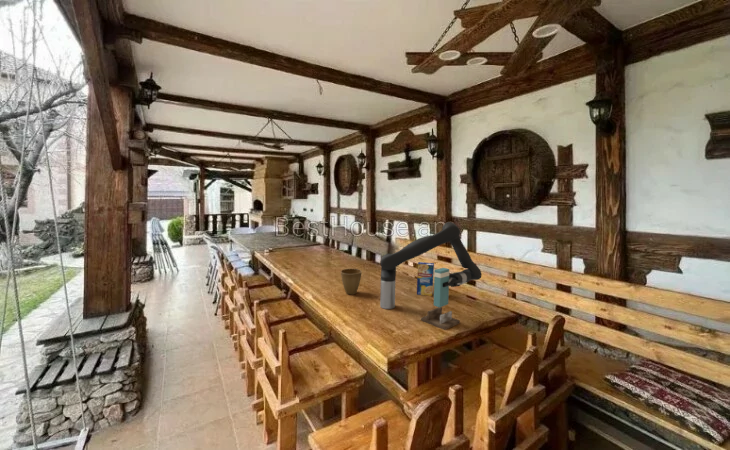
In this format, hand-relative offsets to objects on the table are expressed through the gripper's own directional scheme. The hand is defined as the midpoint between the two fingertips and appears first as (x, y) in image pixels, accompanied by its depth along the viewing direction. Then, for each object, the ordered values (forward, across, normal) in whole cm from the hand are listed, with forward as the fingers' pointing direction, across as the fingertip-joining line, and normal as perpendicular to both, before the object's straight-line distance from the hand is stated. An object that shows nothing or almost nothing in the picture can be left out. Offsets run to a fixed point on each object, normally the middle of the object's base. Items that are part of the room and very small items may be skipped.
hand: (439, 284), depth 172 cm
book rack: (-2, 0, +22) cm, 22 cm away
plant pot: (+6, -71, +22) cm, 74 cm away
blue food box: (-35, -37, +22) cm, 55 cm away
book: (-2, 0, +12) cm, 12 cm away
